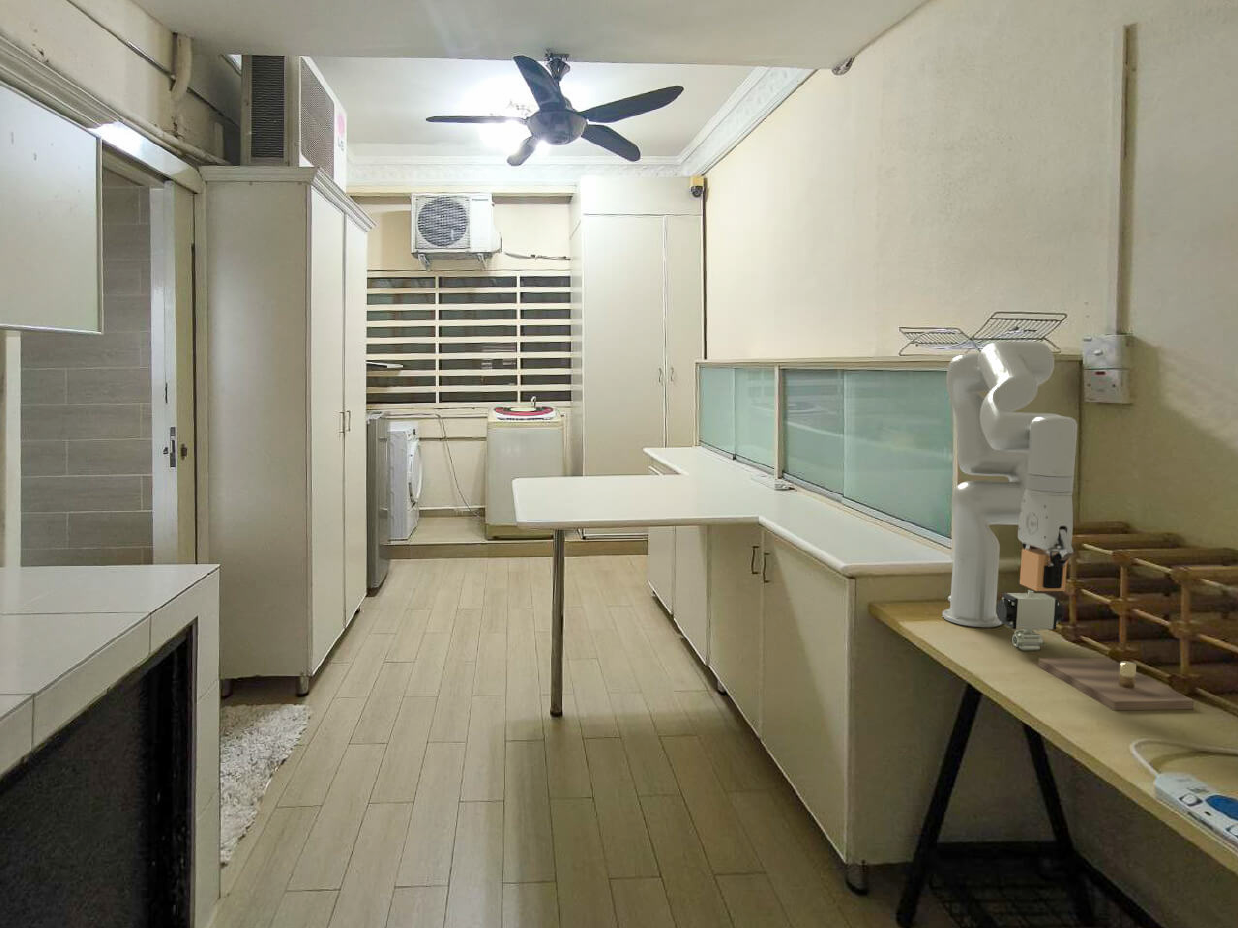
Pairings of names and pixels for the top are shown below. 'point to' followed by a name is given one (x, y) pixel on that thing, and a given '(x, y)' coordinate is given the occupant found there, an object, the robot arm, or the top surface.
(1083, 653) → the top surface
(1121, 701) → the brown wooden board
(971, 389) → the robot arm
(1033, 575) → the peach foam cube
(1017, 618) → the pneumatic valve
